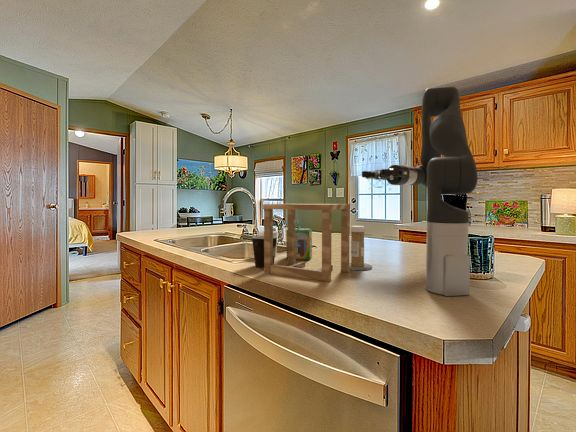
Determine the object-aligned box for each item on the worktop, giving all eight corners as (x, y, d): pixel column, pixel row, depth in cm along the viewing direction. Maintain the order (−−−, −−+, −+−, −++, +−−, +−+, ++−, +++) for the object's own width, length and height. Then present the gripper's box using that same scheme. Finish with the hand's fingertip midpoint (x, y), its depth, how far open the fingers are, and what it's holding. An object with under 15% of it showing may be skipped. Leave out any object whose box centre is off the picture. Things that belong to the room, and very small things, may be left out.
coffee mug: (265, 262, 116) (265, 235, 116) (282, 266, 110) (282, 237, 109) (239, 267, 108) (239, 238, 107) (255, 271, 102) (255, 240, 101)
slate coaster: (377, 270, 103) (377, 268, 103) (347, 271, 102) (347, 269, 102) (365, 263, 113) (365, 262, 113) (338, 264, 112) (338, 263, 112)
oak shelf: (291, 263, 114) (291, 203, 113) (349, 270, 102) (350, 204, 101) (263, 272, 100) (262, 204, 98) (327, 282, 88) (327, 204, 87)
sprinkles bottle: (367, 266, 106) (367, 226, 105) (355, 267, 105) (355, 226, 104) (359, 263, 110) (360, 225, 110) (348, 264, 109) (348, 225, 108)
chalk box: (309, 260, 120) (309, 221, 119) (285, 259, 121) (285, 221, 121) (312, 256, 129) (312, 220, 128) (290, 255, 130) (290, 219, 130)
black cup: (266, 258, 124) (266, 233, 123) (254, 256, 130) (254, 231, 129) (281, 256, 129) (281, 231, 128) (269, 253, 135) (269, 230, 134)
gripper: (386, 166, 125) (356, 164, 116) (418, 163, 113) (388, 160, 104) (386, 186, 125) (356, 185, 116) (418, 184, 113) (388, 183, 104)
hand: (371, 173), depth 110 cm, fingers open, 8 cm apart
